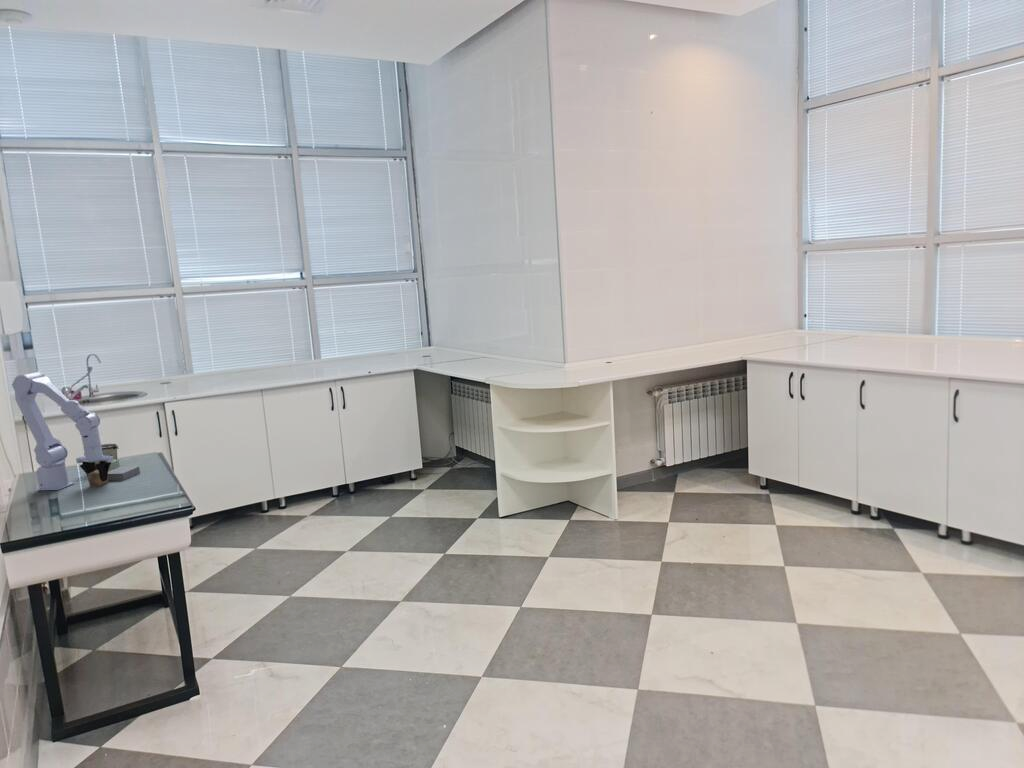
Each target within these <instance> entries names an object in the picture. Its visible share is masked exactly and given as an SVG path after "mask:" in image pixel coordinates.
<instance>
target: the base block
mask: <svg viewBox="0 0 1024 768" xmlns="http://www.w3.org/2000/svg"><path fill="white" fill-rule="evenodd" d="M138 473H139V474H140V473H141V470H140V466H120V467H119V468H116V469H114V470H111V471H109V472H108V480H109V481H125V480H127V479H130V478H132V477H135V476H136V474H137V475H138ZM129 477H130V478H129Z"/></svg>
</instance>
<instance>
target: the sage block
mask: <svg viewBox="0 0 1024 768" xmlns="http://www.w3.org/2000/svg"><path fill="white" fill-rule="evenodd" d="M119 467H121V466H120V461H119V459H117V460H114V461H112V462H111V464H110V467H109V470H108V472H109V471H111V470H114V469H116V468H119Z"/></svg>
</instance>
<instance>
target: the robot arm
mask: <svg viewBox="0 0 1024 768" xmlns="http://www.w3.org/2000/svg"><path fill="white" fill-rule="evenodd" d="M50 379H51V378H50V377H48V376H46V374H45V373H43V372H42V371H38V370H37V371H33V372H30V373H25V374H20V375H17V376H16V377H14V379H13V382H12V384H11V386H12V389H13V391H14V397H15V399H14V400H15V401H16V404H17V406H18V408H19V409H20V411H21V415H22V417H23V418H24V421H25V422H26V424H27V427H28V428H29V430H30V432H31V434H32V436H33V438H34V440H35V443H36V444H35V447H34V450H33V451H34V454H35V460H36V463H37V464H38V465H39V466H38V468H37V470H36V478H37V483H38V488H37V491H59V490H62V489H64V488H67V487H70V486H72V485H75V482H74V481H72V482H69V477H68V473H67V466H66V458H67V457H68V452H69V451H68V449H67V448H66V447H65V445H63V444H62V442H61V440H60V439H58V438H55V437H54V436H53V434H52V432H51V430H50V428H49V426H48V423H47V421H46V420H45V418H44V416H43V414H42V412H41V409H40V407H39V406H38V403H37V402H36V397H37V395H38V394H44V395H45V396H46V397H48V398H49V399H50V400H52V401H53V402H54V403H55V404H57V405H58V406H60V411H61V412H62V414H64V415H65V416H67V417H68V418H69V419H70V420H72V421H73V422H74V423H75V424H74V426H75V428H76V429H77V430H78V432H79V434H80V436H81V442H82V446H83V452H84V453H85V456H79V457H76V458H75V459H76V461H75V462H76V464H79V467H80V469H82V470H83V472H84V473H85V474H86V476H87V477H88V473H90V472H93V471H95V466H96V467H97V469H98V471H99V474H100V478H101V481H106V480H107V476H108V470H109V467H110V464H111V462H112V461H114V460H113V456H106V455H103V453H102V448H101V445H102V443H101V439H100V432H99V426H100V424H101V419H100V417H99V416H98V414H97V413H95V412H90V411H89V410H87V409H86V408H85V407H83V406H82V405H81V404H80V402H79V401H78V400H75V399H69V398H67V396H65V395H64V394H63V392H61V391H60V390H59V389H58V388H57V387H56V386H55V385H54V384H53V383H52V381H51V380H50ZM95 462H100V463H98V464H96V465H95Z"/></svg>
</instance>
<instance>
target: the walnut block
mask: <svg viewBox="0 0 1024 768" xmlns="http://www.w3.org/2000/svg"><path fill="white" fill-rule="evenodd" d="M87 479H88V483H89V484H88V485H89V487H102V486H104V485H107V484H108V483H109V482H110V480H108V476H107V480H106V481H101V478H100V474H99V471H98V470H95V471H93V472H90V473H88V476H87Z"/></svg>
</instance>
